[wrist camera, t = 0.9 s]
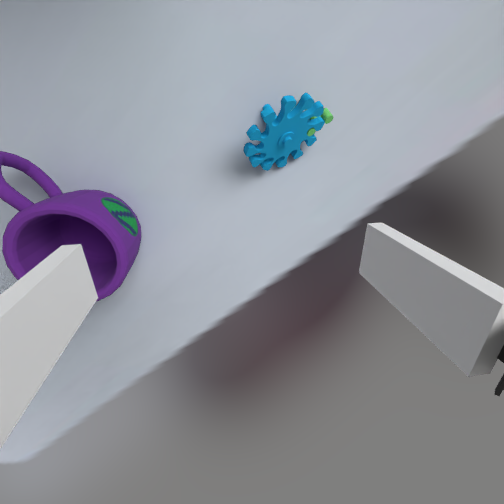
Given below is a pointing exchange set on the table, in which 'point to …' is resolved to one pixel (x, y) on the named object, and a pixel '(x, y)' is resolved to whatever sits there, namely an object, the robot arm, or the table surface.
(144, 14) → the table surface
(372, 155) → the table surface
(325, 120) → the gear
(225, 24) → the table surface
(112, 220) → the mug
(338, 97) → the table surface
